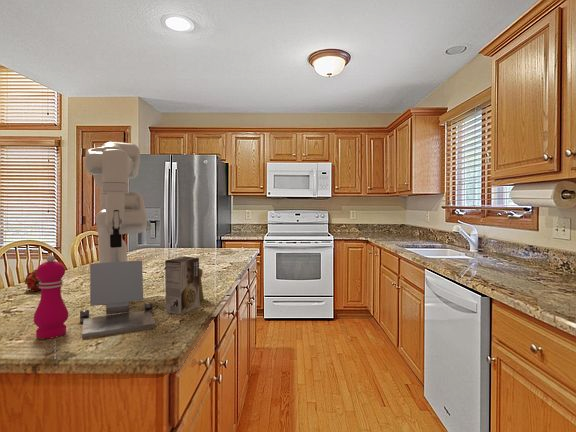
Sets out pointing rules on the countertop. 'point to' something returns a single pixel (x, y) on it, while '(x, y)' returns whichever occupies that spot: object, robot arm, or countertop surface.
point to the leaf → (116, 285)
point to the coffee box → (182, 284)
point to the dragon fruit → (32, 281)
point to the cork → (200, 286)
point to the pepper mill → (50, 300)
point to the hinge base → (117, 322)
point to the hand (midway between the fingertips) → (115, 247)
